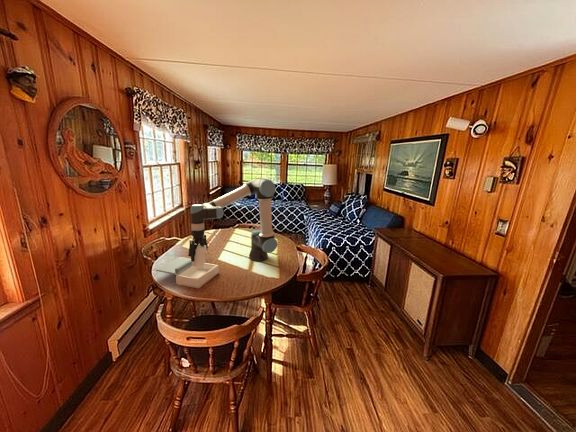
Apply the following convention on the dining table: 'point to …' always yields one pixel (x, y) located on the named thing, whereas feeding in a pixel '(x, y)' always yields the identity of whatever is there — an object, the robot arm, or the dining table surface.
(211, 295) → the dining table surface
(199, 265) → the foam cup
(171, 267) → the lid
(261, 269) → the dining table surface
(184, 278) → the box
